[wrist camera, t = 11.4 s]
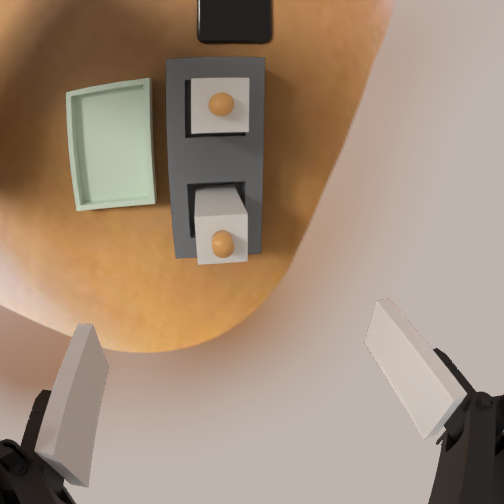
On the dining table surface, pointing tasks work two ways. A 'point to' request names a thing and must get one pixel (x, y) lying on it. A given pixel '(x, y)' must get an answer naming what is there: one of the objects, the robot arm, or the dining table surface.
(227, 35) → the smartphone
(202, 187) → the plug
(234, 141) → the gray block holder
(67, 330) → the dining table surface
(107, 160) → the tray
